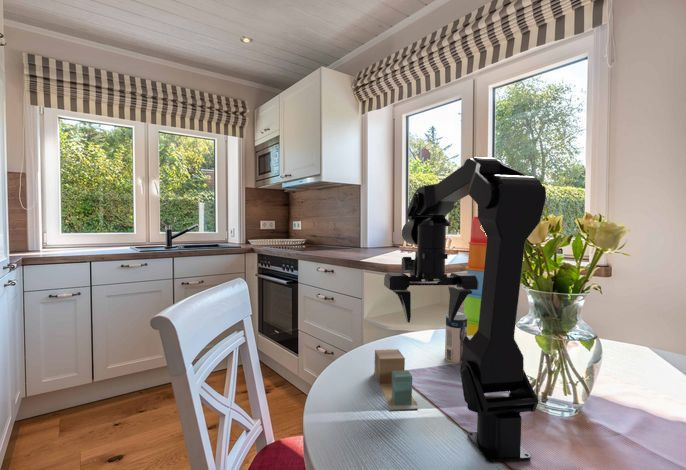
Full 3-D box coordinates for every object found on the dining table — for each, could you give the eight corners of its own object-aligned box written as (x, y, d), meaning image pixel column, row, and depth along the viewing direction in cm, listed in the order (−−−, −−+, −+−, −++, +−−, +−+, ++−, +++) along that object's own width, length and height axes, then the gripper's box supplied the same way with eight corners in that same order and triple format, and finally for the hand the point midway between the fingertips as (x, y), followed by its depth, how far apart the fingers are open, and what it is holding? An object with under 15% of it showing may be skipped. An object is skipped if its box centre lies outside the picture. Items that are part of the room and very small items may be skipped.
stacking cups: (452, 341, 100) (456, 216, 99) (488, 340, 101) (491, 217, 100) (469, 355, 90) (473, 216, 89) (508, 354, 91) (513, 216, 90)
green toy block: (417, 410, 63) (418, 376, 63) (389, 411, 63) (390, 377, 62) (397, 376, 77) (397, 348, 77) (373, 376, 76) (374, 348, 76)
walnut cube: (404, 383, 71) (404, 358, 71) (379, 384, 71) (379, 358, 71) (397, 372, 76) (398, 349, 76) (374, 373, 76) (374, 349, 76)
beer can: (467, 368, 82) (468, 316, 81) (445, 366, 83) (446, 314, 82) (464, 360, 86) (465, 310, 86) (443, 358, 87) (445, 309, 87)
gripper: (457, 245, 85) (456, 311, 85) (379, 245, 83) (378, 312, 83) (480, 249, 74) (478, 325, 74) (391, 248, 71) (389, 326, 72)
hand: (429, 321), depth 76 cm, fingers open, 9 cm apart
